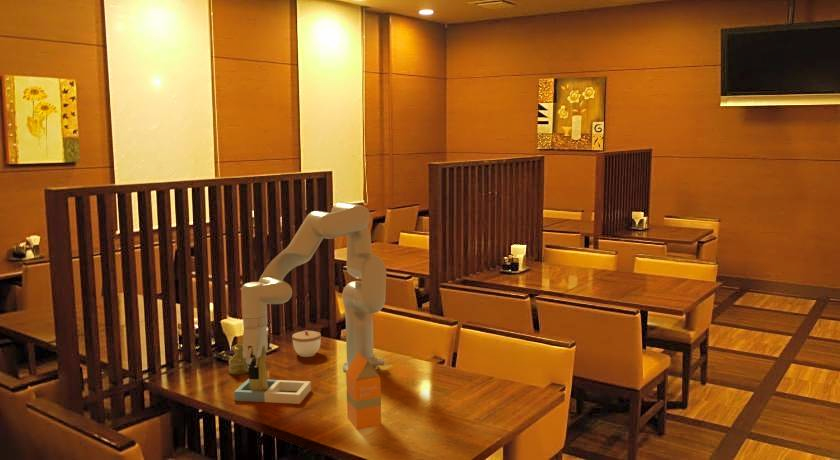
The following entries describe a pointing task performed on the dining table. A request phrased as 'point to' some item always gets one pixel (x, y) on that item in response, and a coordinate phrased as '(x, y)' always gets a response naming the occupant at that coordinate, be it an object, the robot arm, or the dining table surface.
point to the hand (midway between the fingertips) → (257, 374)
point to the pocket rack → (275, 392)
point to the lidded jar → (306, 342)
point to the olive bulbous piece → (238, 361)
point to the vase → (260, 374)
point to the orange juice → (363, 394)
